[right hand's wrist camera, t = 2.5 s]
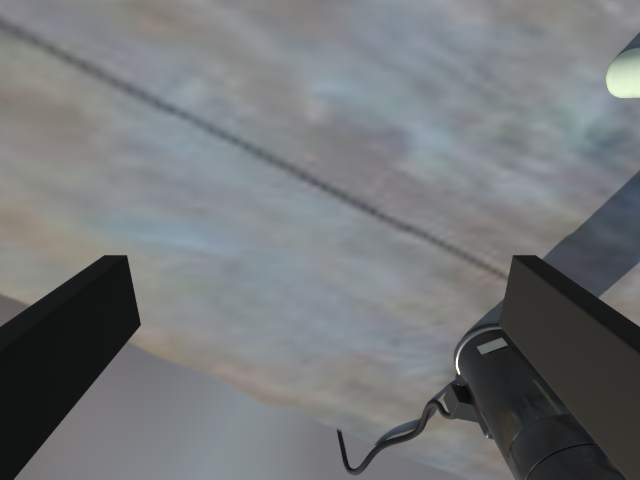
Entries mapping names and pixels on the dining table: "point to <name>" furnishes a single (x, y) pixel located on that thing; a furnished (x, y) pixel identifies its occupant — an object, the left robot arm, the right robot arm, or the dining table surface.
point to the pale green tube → (625, 74)
